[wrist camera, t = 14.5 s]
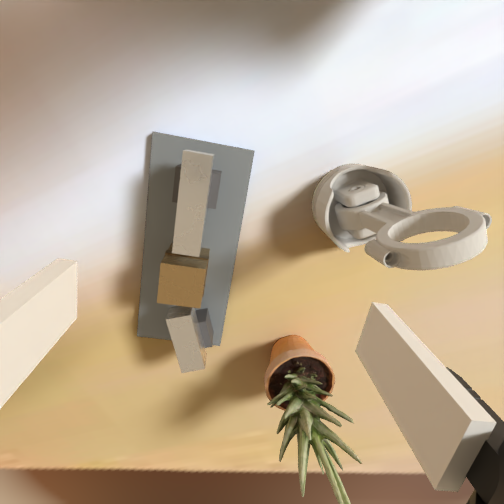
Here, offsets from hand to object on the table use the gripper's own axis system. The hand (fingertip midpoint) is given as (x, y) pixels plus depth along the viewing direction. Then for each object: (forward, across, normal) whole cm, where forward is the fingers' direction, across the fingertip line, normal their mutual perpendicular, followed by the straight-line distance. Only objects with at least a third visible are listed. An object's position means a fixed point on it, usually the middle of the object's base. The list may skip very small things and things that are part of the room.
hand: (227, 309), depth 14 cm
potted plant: (+29, +13, -22) cm, 39 cm away
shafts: (+24, -3, -9) cm, 26 cm away
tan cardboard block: (+28, -4, -10) cm, 30 cm away
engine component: (+29, +16, +2) cm, 33 cm away
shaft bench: (+29, -4, -8) cm, 30 cm away
